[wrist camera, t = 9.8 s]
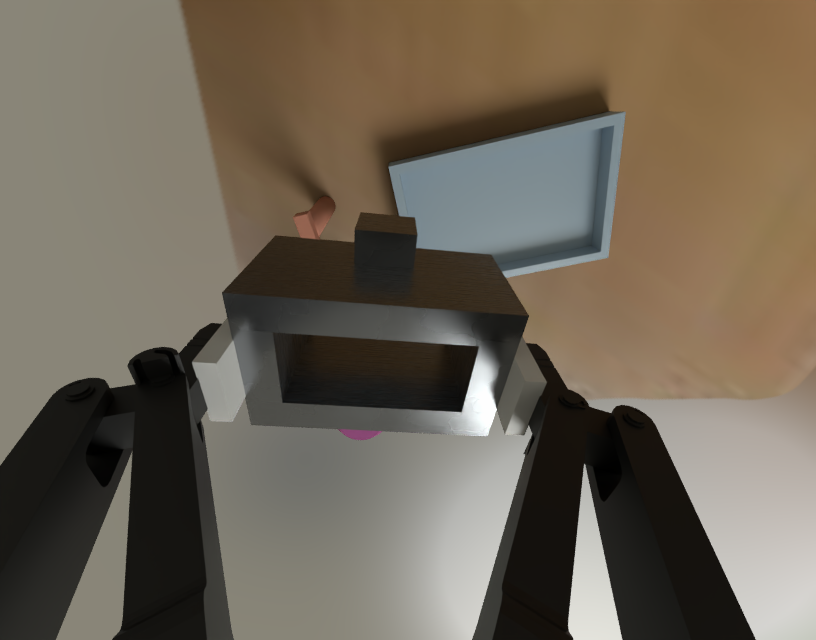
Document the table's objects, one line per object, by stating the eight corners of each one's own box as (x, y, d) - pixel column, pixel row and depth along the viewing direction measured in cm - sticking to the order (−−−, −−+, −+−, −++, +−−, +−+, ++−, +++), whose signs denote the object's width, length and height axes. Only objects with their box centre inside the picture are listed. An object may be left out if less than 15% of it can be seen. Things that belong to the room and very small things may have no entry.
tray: (389, 162, 32) (388, 166, 29) (609, 111, 30) (625, 111, 28) (415, 284, 38) (416, 295, 36) (595, 249, 37) (608, 257, 35)
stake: (312, 193, 33) (288, 218, 26) (330, 189, 33) (311, 213, 25) (325, 230, 35) (306, 263, 28) (342, 227, 35) (327, 259, 27)
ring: (287, 345, 19) (251, 424, 14) (272, 203, 14) (212, 250, 10) (466, 356, 19) (487, 436, 15) (498, 225, 15) (541, 278, 11)
